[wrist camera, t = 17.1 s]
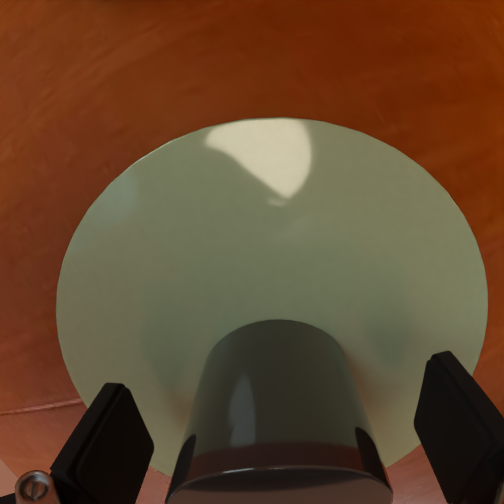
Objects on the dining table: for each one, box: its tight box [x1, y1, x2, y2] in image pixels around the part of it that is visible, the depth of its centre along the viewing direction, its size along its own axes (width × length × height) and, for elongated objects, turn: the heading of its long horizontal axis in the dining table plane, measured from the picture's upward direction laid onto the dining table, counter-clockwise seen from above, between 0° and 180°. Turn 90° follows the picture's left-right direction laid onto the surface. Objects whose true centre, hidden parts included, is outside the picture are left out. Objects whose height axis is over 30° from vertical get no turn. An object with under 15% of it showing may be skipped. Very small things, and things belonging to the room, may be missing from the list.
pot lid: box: [56, 117, 488, 504], centre depth 8 cm, size 17×17×7 cm
